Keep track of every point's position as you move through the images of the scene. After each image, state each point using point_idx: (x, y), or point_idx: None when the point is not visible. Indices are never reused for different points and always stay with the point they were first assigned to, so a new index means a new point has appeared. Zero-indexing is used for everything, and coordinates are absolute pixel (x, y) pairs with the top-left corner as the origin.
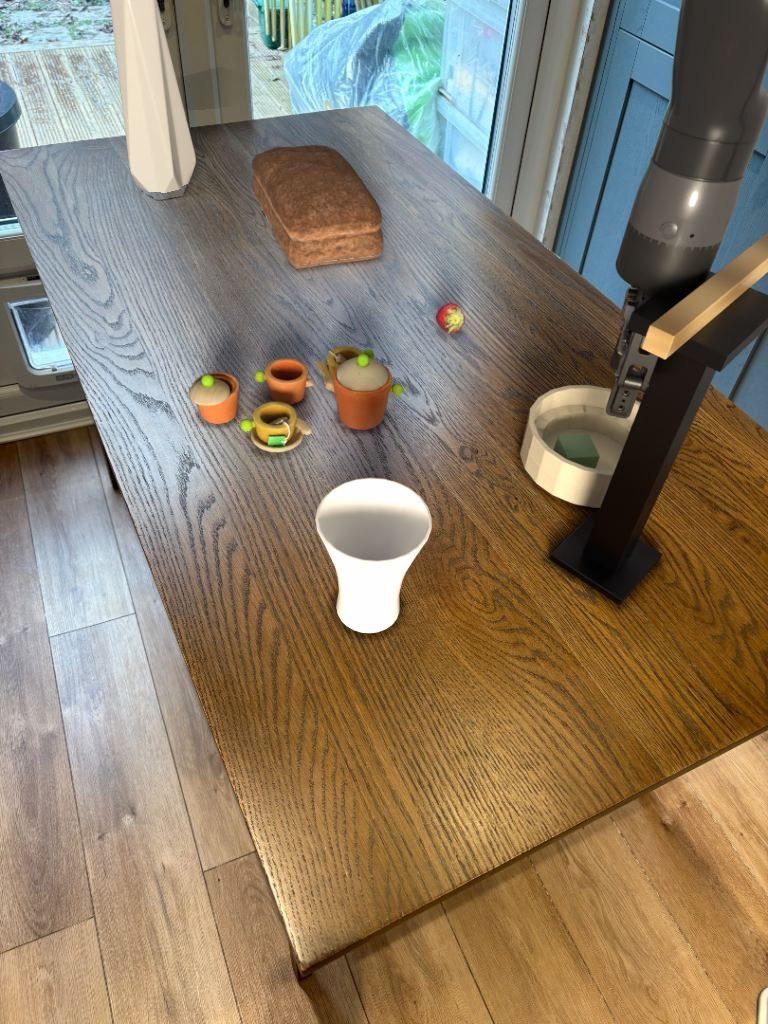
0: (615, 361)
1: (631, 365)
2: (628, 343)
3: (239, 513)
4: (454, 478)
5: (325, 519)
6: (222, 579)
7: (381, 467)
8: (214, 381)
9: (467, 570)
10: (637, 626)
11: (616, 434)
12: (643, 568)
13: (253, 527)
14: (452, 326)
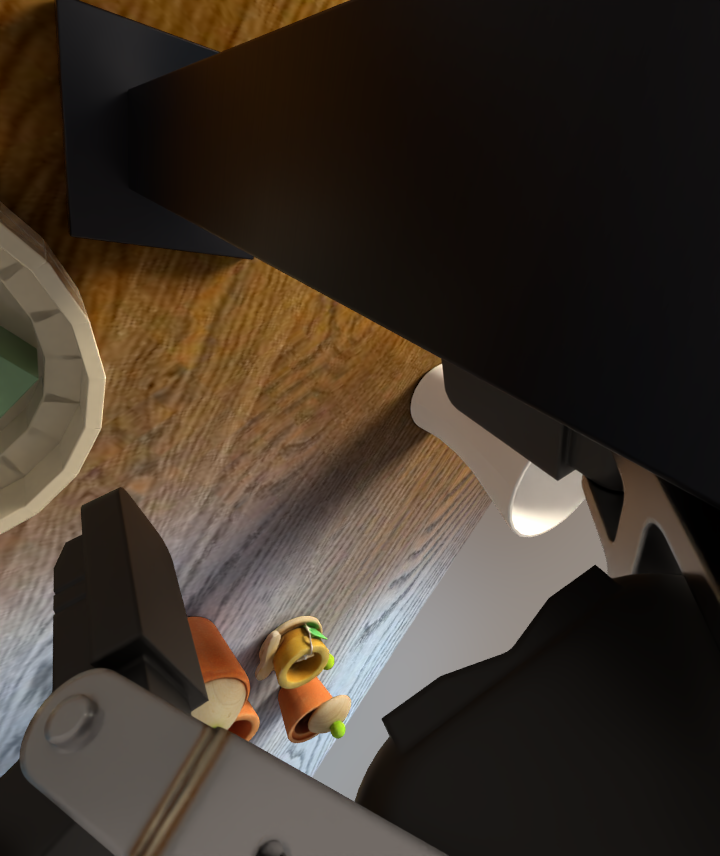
0: (166, 565)
1: (127, 511)
2: (172, 638)
3: (395, 559)
4: (190, 481)
5: (547, 504)
6: (460, 502)
7: (248, 549)
8: (327, 727)
9: (340, 347)
10: (288, 14)
11: None
12: (152, 42)
13: (403, 538)
14: None
